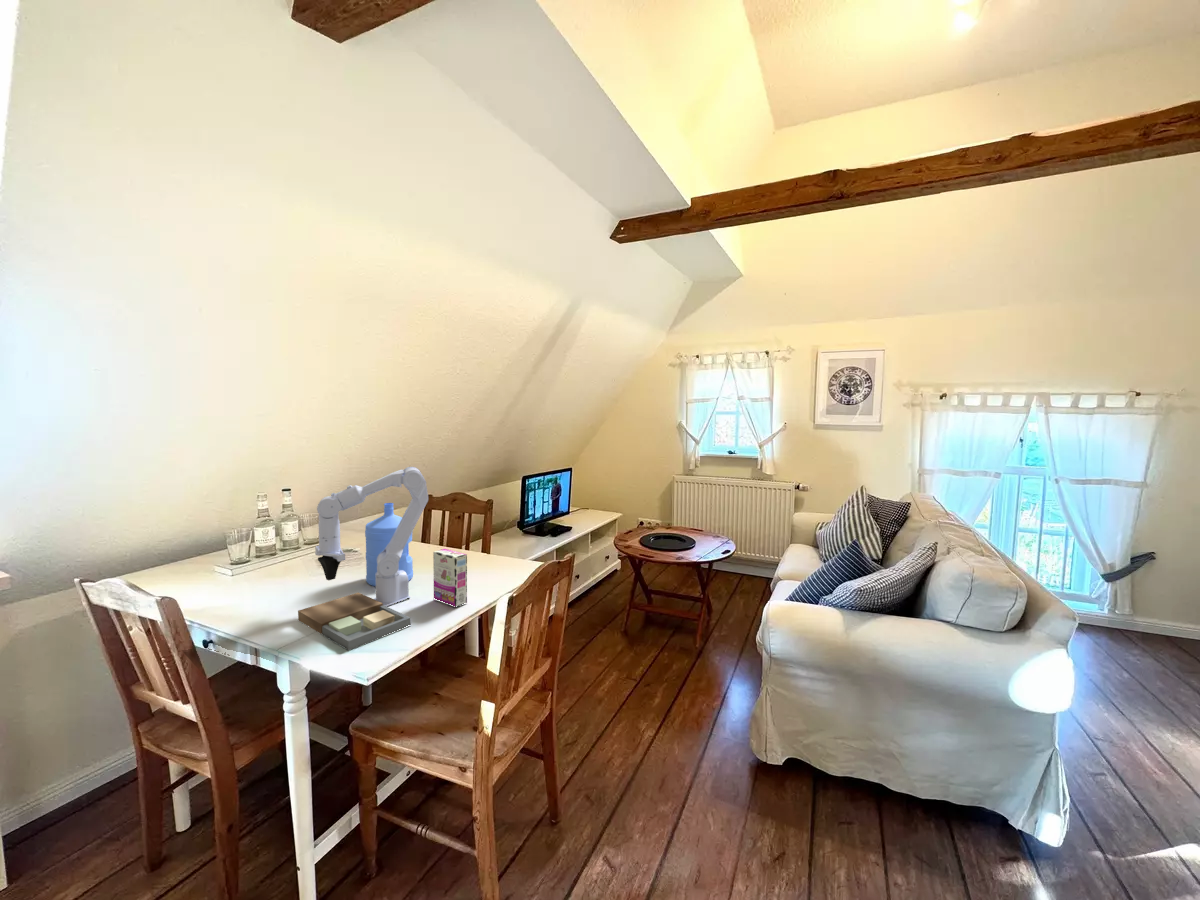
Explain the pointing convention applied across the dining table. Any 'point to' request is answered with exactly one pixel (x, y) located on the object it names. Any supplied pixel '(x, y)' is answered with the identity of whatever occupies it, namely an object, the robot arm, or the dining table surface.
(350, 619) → the sage tile
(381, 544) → the water jug
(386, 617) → the ash block
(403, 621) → the tray
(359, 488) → the robot arm
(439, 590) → the candy bar box
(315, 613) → the walnut board
